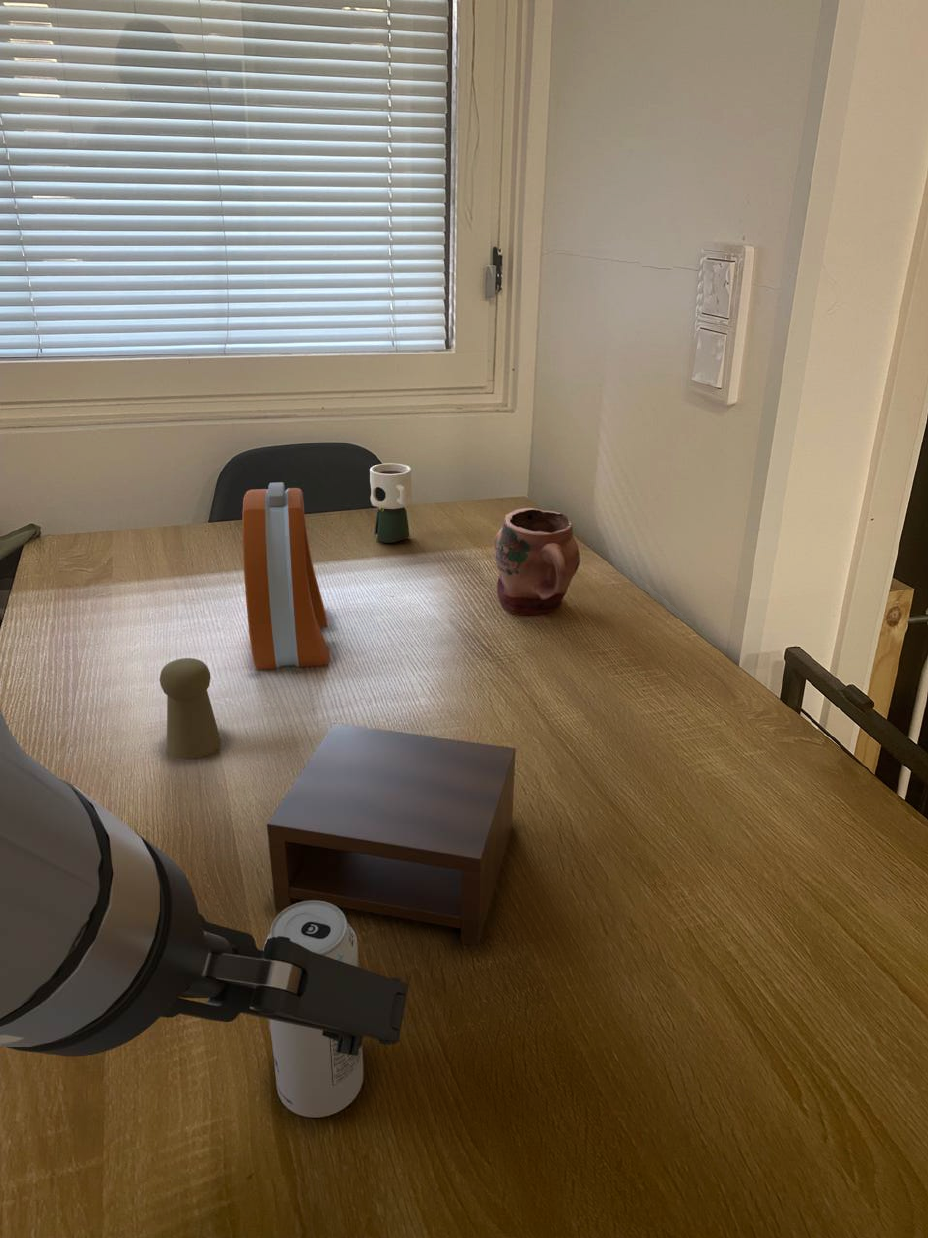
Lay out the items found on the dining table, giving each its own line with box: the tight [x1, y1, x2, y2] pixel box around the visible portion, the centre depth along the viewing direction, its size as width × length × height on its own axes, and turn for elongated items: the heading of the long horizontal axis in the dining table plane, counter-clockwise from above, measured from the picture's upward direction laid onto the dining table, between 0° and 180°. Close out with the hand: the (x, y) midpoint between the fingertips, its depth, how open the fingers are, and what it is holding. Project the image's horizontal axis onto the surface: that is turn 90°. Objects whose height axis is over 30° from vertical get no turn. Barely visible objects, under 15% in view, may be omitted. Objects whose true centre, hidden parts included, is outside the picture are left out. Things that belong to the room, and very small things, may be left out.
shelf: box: [266, 722, 517, 947], centre depth 82 cm, size 16×18×10 cm
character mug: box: [369, 462, 413, 543], centre depth 159 cm, size 11×7×13 cm, turn 28°
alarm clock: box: [241, 481, 331, 671], centre depth 120 cm, size 22×10×23 cm, turn 9°
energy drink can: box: [262, 900, 364, 1119], centre depth 61 cm, size 6×6×15 cm
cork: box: [159, 657, 222, 760], centre depth 99 cm, size 6×6×11 cm
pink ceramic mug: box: [493, 507, 581, 616], centre depth 134 cm, size 20×12×14 cm, turn 22°
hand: (235, 997), depth 48 cm, fingers open, 13 cm apart
